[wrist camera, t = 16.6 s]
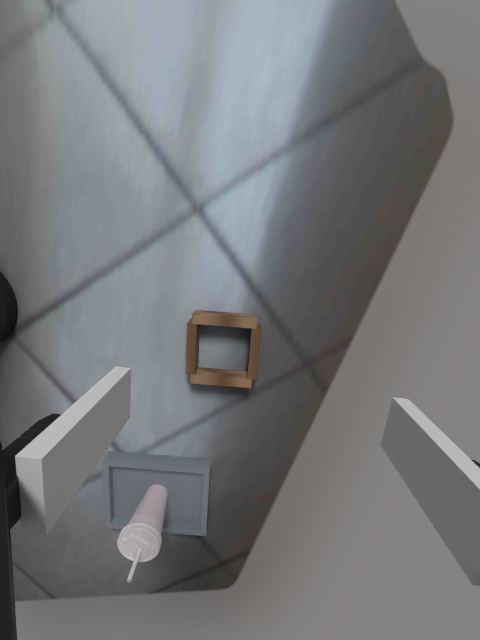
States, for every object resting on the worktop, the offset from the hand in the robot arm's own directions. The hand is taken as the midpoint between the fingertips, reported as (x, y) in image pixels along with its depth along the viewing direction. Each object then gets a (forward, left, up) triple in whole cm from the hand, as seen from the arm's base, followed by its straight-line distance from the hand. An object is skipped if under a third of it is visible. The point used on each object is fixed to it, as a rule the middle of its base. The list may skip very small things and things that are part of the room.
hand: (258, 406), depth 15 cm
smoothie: (-14, -36, -31) cm, 49 cm away
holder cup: (-4, -8, -31) cm, 33 cm away
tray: (-14, -36, -31) cm, 50 cm away
